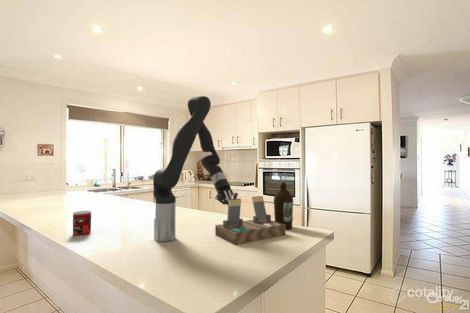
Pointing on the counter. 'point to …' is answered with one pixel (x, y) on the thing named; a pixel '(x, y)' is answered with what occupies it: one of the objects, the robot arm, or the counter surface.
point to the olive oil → (283, 206)
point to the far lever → (259, 208)
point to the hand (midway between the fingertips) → (233, 210)
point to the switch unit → (249, 230)
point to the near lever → (234, 212)
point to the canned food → (81, 223)
